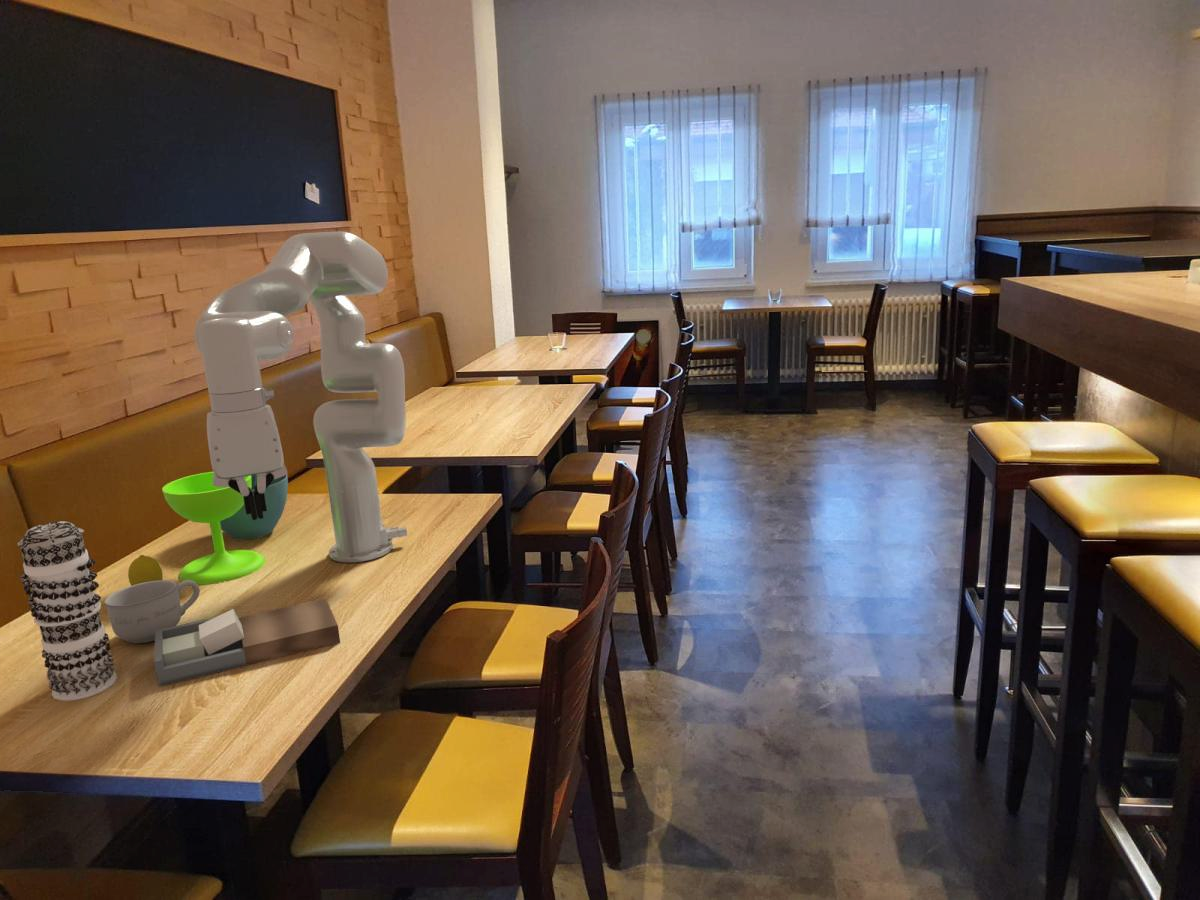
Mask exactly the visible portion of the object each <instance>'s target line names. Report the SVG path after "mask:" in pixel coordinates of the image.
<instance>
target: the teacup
mask: <svg viewBox="0 0 1200 900" xmlns="http://www.w3.org/2000/svg"><path fill="white" fill-rule="evenodd" d="M186 587H190V588H192V594H191V596H190V597H189V598H188V600H187V601H186V602H184V603H183V604H181V601H180V598H181V595H182V592H183V590H184V588H186ZM200 593H201V589H200V587H199V584H197V583H195V582H194V581H192V580H185V581H181V582H179V583H178V584H177V582H175V581H173V580H168V579H167V580H166V579H164V580H163V579H162V580H161V581H151V582H145V583H140V584H136V585H133V586H131V585H130V586H127V587H124V588H123V589H119V590H117V591H115V592H113V593H111V594H110V595H108V596H107V597H106V599H104V605H105V606H106V609H107V614H108V619H109V623H110V625H111V628H112V631H113V633H114V635H116V637H118V638H119V639H121V640H123V641H127V642H128V643H131V644H144V643H149V642H153V641H154V642H155V630H158V629H163V628H168V627H172V626H177V625H179V623H180V621H181V618H182V617H183V616H184V615H185V613H186V612H187V610H188V609H189V608H190V607H191V606H193V604H194V603H196V601H197V600H198V598H199V597H200Z"/></svg>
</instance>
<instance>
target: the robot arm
mask: <svg viewBox="0 0 1200 900" xmlns="http://www.w3.org/2000/svg"><path fill="white" fill-rule="evenodd" d="M388 279H389V271H388V266H387V263H386V261H385V259H384V257H383V255H382V254H381V253H380V252H379V251H378V250H377V249H376V248H375V247H373V246H372V245H371V244H369V242H367V241H366V240H364V239H362V238H361V237H359V236H357V235H356V234H354V233H351V232H347V231H321V232H319V231H318V232H306V233H299V234H294V235H292V236H290V237H289V238H288V239H286V241H284V243H283V244H282V246H281V247H280V248H279V249H278V251H277V252H276V254H275V255H274V256H273V258H272V259H271V261H270V262H269V263H268V265H267V266H266V267H265V269H264V270H263V271H262V272H259V273H258V274H255V275H253V276H251V277H249V278H247V279H245V280H243V281H241V282H240V283H237V284H235V285H233V286H231V287H228V289H226V290H224V291H222V292H220V293H219V294H218V295H216V296H215V297H214V298H213V299H212V300H211V301H210V303H209V304H207V306H206V307H205V308H204V310H203V312H202V313H201V314H200V316H199V318H198V320H197V322H196V326H195V329H194V342H195V345H196V348H197V350H198V353H200V355H201V356H202V362H203V369H204V373H205V379H206V385H207V389H208V390H207V391H208V397H209V401H210V407H211V411H210V412H207V413H206V433H207V434H206V436H207V442H208V443H207V445H208V451H209V459H210V465H211V468H212V470H213V471H212V472H214V473H213V485H214V486H216V487H231V488H232V489H234V490H236V491H237V492H239V493H240V494H241V495H242V496H243V498H244V504H245V510H246V515H247V514H251V516H252V520H256V519H257V515H258V518H260V519H263V511H267V508H266V502H265V496H264V492H265V491H266V489H267V487H268V486H269V485H270V483H271V482H272V481H273V480H274V479H277V478H280V477H282V476H285V475H286V474H287V475H288V473H289V472H288V469H287V467H286V465H285V461H284V459H285V458H284V452H283V447H282V442H281V437H280V433H279V429H278V426H277V421H276V418H275V415H274V412H273V409H272V407H271V405H270V404H267V403H266V402H268V401H269V400H270V399H274V398H275V391H274V389H268V388H267V389H266V388H265V387H263V381H262V379H263V378H262V374H261V368H260V363H259V361H267V360H276V359H280V358H282V357H283V356H285V355H286V354H287V353H288V352H289V351H290V350H291V347H292V346H293V342H294V329H293V326H292V325H291V322H290V321H289V320H288V318H287V317H286V316H289V315H291V314H294V313H296V312H298V311H301V310H302V309H304V307H305V306H307V304H308V303H309V302H310V304H311V305H312V307H313V309H314V310H315V313H316V316H317V318H318V321H319V327H320V329H319V331H320V370H321V379H322V383H323V385H324V387H325V388H326V389H327V390H328V391H330V392H333V393H339V394H340V393H343V394H344V393H345V394H347V393H348V394H351V393H354V394H355V393H376V394H377V398H351V399H346V398H345V399H338V400H337V399H334V400H329V401H327V402H324V403H322V404H321V405H319V406H318V407H317V408H316V410H315V412H314V415H313V428H314V433H315V435H316V439H317V442H318V444H319V447H320V448H319V449H320V450H321V454H322V458H323V465H324V470H325V475H326V477H325V478H326V481H327V482H326V483H327V490H328V497H329V502H330V505H329V506H330V510H331V511H330V512H331V518H332V525H333V533H334V539H335V544H334V545H332V546H331V547H330V548H329V550H328V555H329V558H330V559H331V560H333V561H335V562H340V563H361V562H367V561H371V560H375V559H378V558H380V557H383V556H385V555H388V553H390V552H391V550H393V547H394V546H393V539H395V538H403V537H407V536H408V529H407V527H406V526H403V527H398V525H395V526H391V527H386V526H384V524H383V519H382V512H381V505H380V504H381V503H380V496H379V489H378V480H377V472H376V466H375V464H374V461H373V459H372V458H371V456H370V455H369V454H368V453H367V451H366V450H365V449H364V448H383V447H385V448H386V447H394V446H397V445H399V444H400V443H401V442H402V441H403V440H404V437H405V434H406V424H407V423H406V422H407V421H406V420H407V419H406V417H407V416H406V382H405V381H406V379H405V378H406V377H405V366H404V360H403V357H402V355H401V352H400V351H399V349H398V348H397V347H396V346H394V344H390V343H386V342H385V343H384V342H376V343H375V342H373V343H372V342H371V343H367V342H366V340H367V339H366V322H365V318H364V316H363V315H362V313H361V311H360V310H359V308H357V306H356V305H355V304H354V303H353V302H352V300H350V298H348V297H351V296H353V297H355V296H372V295H377V294H379V293H381V292H382V291H384V289H385V288H386V286H387V283H388ZM251 475H256V486H255V487H254V491H253V493H254V495H253V493H252V492H251V489H250V488H249V487H248V486H247V483H246V480H245V478H244V476H251ZM235 478H236V479H235ZM254 499H255V501H254ZM255 505H256V507H255ZM256 511H257V513H256Z"/></svg>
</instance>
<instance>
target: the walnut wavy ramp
mask: <svg viewBox="0 0 1200 900" xmlns="http://www.w3.org/2000/svg"><path fill="white" fill-rule="evenodd" d="M238 619H239V621H240V622H241V624H242V629H243V634H244V638H243V639H242V643H243V648H244V654H245V659H246V666H249V665H252V664H256V663H262V662H265V661H269V660H274V659H278V658H282V657H286V656H289V655H295V654H298V653H302V651H303V652H306V650H307V651H310V649H311V650H314V648H315V649H318V648H323V647H326V646H330V644H331V645H334V644H339V643H341V637H340V630H339V624H338V622H337V620H336V618H335V616H334V614H333V612H332V609H331V606H330V604H329V602H328V599H327V598H326V597H325V598H320V599H316V600H312V601H307V602H303V603H299V604H295V605H294V604H293V605H289V606H286V607H280V608H275V609H271V610H267V611H263V612H258V613H254V614H249V615H244V616H240V617H239V616H238Z"/></svg>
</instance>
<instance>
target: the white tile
mask: <svg viewBox="0 0 1200 900" xmlns="http://www.w3.org/2000/svg"><path fill="white" fill-rule="evenodd" d="M237 615H238V614H237ZM237 615H236V612H235V609H234V608H232V609H230V610H227V611H226V612H224V613H222V614H219V615H218V616H214V617H215V618H213V617H212V618H213V619H211V620H209V621H207V622H205V623H202V624H200V625H199V636H200V640H201V642H202V644H203V646H204V647H205V649H206V651H207V653H208V655H210V654H212V653H214V652H216V651H218V650H220V649H222V648H224V647H226V646H228V645H230V644H232V643H234V642H236V641H238V640H240V639H243V638H244V634H243V629H242V624H241V622H240V621H239V619H238V618H239V616H238V617H237Z"/></svg>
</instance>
